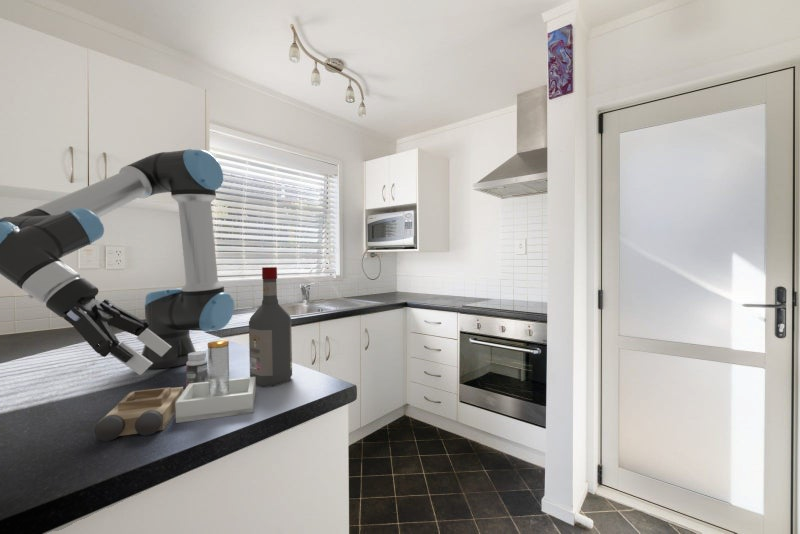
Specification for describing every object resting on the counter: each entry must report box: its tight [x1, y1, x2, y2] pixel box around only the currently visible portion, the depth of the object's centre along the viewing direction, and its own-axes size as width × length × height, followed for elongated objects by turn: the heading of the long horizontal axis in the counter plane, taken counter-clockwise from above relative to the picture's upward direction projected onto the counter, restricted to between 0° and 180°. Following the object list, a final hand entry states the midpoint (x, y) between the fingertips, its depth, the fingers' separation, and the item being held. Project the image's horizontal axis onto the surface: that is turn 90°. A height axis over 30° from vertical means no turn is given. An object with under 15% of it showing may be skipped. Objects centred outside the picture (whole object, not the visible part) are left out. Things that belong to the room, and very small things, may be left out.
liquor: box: [248, 266, 293, 388], centre depth 96 cm, size 9×9×30 cm
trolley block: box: [93, 386, 184, 442], centre depth 74 cm, size 18×10×4 cm, turn 19°
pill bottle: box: [185, 350, 209, 387], centre depth 93 cm, size 5×5×8 cm
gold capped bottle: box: [207, 340, 230, 397], centre depth 79 cm, size 4×4×13 cm
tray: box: [175, 376, 257, 424], centre depth 79 cm, size 12×14×4 cm
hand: (157, 359), depth 75 cm, fingers open, 13 cm apart
